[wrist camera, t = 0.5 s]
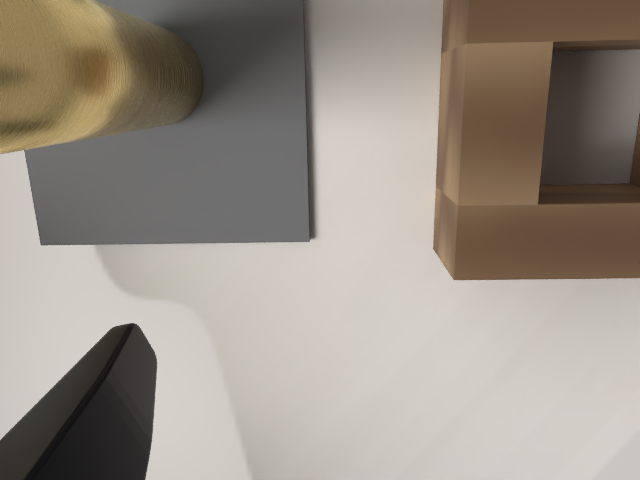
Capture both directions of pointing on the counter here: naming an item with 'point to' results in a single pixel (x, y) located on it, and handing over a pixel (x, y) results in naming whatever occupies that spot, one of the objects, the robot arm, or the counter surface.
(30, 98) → the brass pin
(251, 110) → the charcoal mat
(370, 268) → the counter surface
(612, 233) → the wooden socket block
